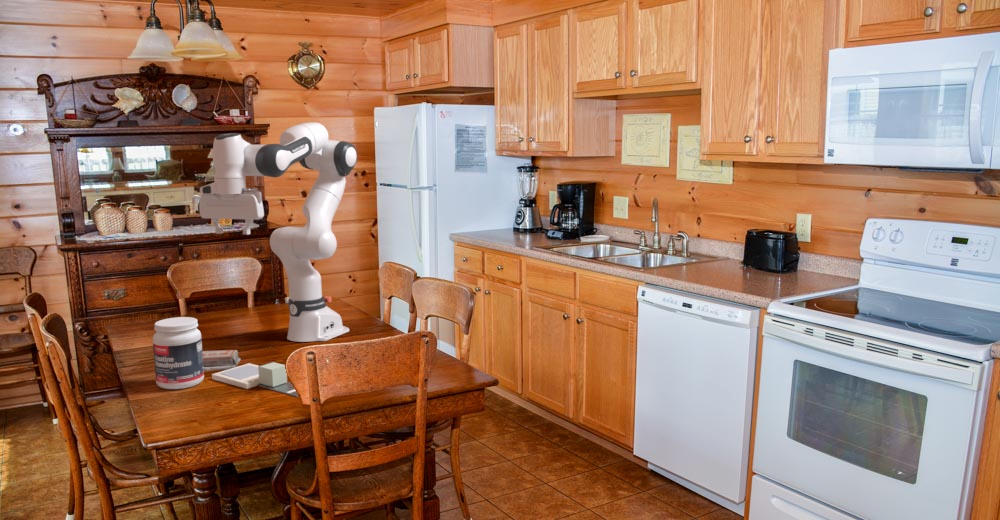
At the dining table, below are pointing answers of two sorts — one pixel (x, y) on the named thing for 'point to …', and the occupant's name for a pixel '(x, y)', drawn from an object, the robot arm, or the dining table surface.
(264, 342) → the dining table surface
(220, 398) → the dining table surface
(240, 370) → the board
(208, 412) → the dining table surface
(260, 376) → the pale green cube
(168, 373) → the supplement tub
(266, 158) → the robot arm
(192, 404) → the dining table surface
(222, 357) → the packaged product
